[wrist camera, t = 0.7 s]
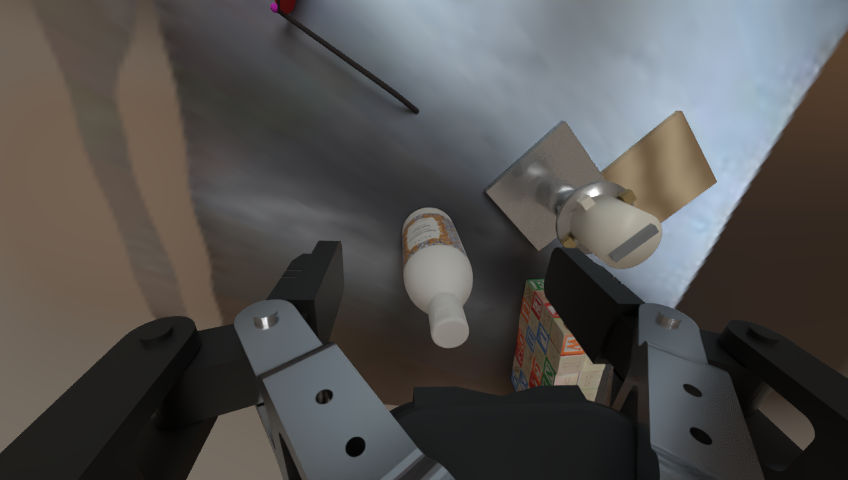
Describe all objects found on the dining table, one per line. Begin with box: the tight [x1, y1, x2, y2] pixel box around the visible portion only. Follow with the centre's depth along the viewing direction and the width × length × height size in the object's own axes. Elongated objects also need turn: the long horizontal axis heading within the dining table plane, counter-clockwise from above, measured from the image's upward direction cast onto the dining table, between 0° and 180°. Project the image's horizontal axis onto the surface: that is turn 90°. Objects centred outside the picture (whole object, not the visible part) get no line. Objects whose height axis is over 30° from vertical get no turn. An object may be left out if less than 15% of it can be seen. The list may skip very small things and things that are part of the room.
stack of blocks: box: [511, 279, 605, 401], centre depth 45 cm, size 21×6×12 cm, turn 1°
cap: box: [570, 193, 662, 269], centre depth 28 cm, size 5×7×6 cm
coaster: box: [600, 111, 717, 223], centre depth 40 cm, size 12×12×1 cm
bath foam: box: [402, 208, 473, 348], centre depth 32 cm, size 7×7×20 cm
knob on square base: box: [484, 121, 637, 254], centre depth 35 cm, size 12×12×11 cm
